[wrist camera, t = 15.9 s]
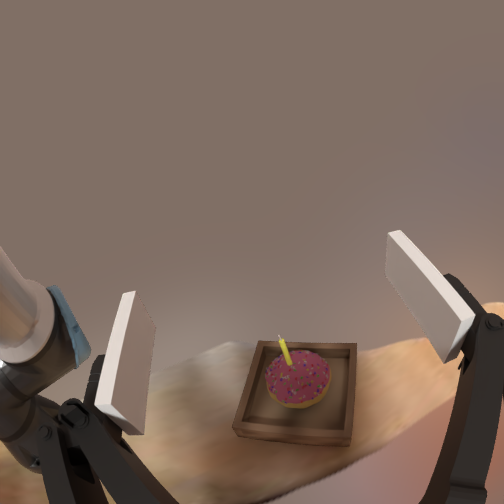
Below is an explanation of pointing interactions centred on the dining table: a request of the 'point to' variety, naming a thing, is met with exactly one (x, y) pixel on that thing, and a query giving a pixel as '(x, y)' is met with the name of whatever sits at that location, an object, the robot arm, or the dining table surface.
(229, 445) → the dining table surface
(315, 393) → the cupcake
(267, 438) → the tray
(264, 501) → the dining table surface
